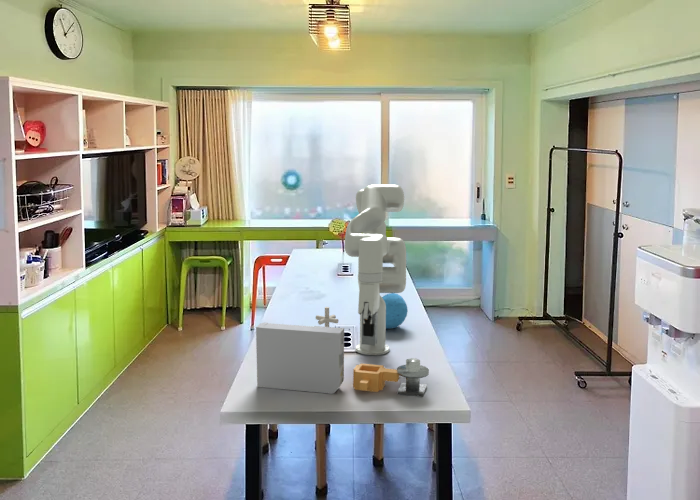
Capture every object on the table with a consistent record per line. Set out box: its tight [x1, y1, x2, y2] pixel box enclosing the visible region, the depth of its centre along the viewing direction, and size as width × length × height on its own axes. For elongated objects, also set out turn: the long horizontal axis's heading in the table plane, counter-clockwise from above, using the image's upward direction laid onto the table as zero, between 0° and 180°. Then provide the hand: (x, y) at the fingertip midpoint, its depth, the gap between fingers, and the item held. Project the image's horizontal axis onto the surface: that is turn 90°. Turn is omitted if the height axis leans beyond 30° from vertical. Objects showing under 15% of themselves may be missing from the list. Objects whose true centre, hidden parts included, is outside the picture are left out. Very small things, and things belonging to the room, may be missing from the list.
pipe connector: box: [315, 306, 339, 327], centre depth 280 cm, size 10×10×10 cm
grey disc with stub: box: [396, 357, 430, 398], centre depth 218 cm, size 10×10×10 cm
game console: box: [255, 322, 345, 395], centre depth 220 cm, size 6×27×20 cm, turn 77°
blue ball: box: [381, 293, 409, 330], centre depth 285 cm, size 16×19×15 cm
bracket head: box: [352, 362, 400, 393], centre depth 219 cm, size 12×14×6 cm
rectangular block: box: [362, 312, 378, 345], centre depth 219 cm, size 3×4×10 cm
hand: (369, 333), depth 219 cm, fingers closed on rectangular block, 3 cm apart
